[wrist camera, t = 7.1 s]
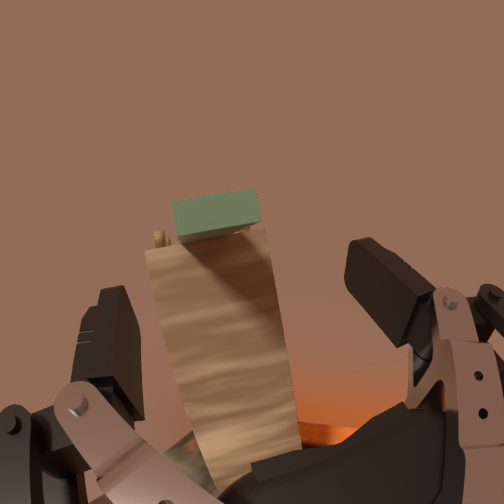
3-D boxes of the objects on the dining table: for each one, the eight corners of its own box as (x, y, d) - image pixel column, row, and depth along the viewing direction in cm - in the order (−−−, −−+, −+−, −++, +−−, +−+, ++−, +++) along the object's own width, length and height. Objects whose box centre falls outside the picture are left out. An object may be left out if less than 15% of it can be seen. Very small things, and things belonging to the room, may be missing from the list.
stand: (308, 493, 25) (261, 210, 24) (229, 515, 23) (141, 232, 22) (275, 438, 39) (233, 226, 38) (214, 453, 37) (157, 240, 36)
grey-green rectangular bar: (261, 221, 14) (244, 131, 14) (177, 236, 13) (163, 142, 13) (214, 241, 35) (208, 204, 35) (182, 247, 34) (176, 209, 34)
